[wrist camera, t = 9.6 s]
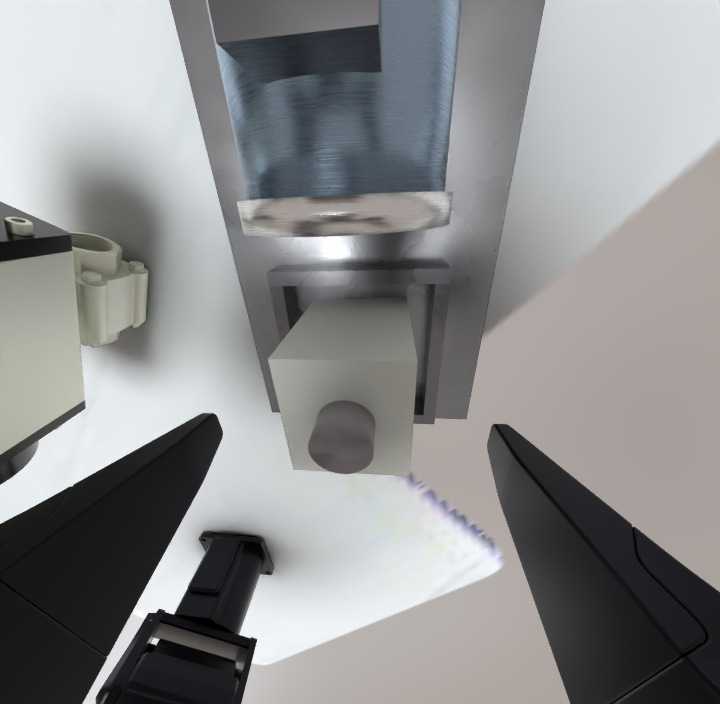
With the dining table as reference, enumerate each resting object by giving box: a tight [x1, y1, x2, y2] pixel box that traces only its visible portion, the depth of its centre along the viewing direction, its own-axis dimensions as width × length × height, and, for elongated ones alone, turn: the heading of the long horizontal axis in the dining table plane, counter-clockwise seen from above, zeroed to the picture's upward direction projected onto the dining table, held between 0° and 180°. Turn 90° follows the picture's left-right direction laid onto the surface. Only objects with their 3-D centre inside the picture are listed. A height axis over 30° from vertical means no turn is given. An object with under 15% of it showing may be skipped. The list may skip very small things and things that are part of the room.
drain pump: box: [268, 298, 418, 476], centre depth 11 cm, size 5×4×7 cm
